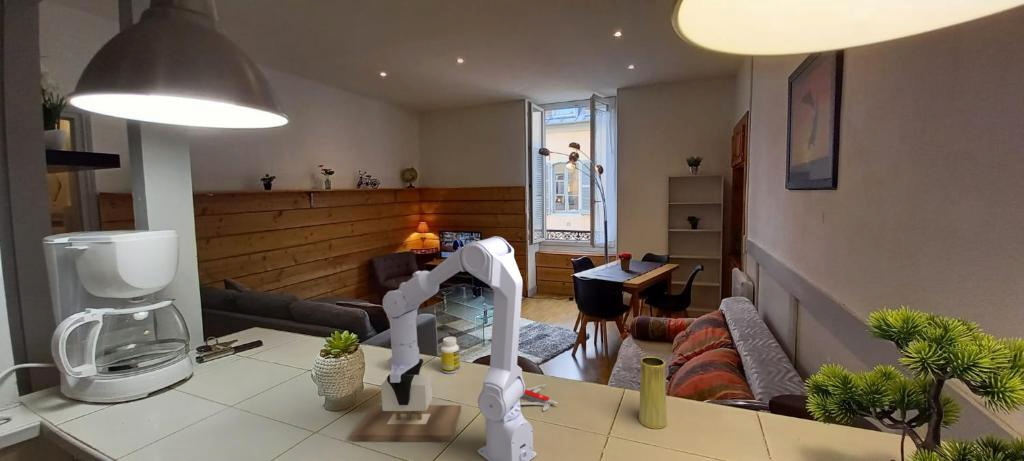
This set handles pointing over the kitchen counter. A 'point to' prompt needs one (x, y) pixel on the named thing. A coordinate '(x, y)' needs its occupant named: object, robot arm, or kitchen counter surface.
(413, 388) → the block
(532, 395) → the swiss army knife
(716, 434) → the kitchen counter surface
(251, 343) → the kitchen counter surface
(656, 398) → the vase
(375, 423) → the pin board
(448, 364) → the supplement bottle
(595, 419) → the kitchen counter surface
